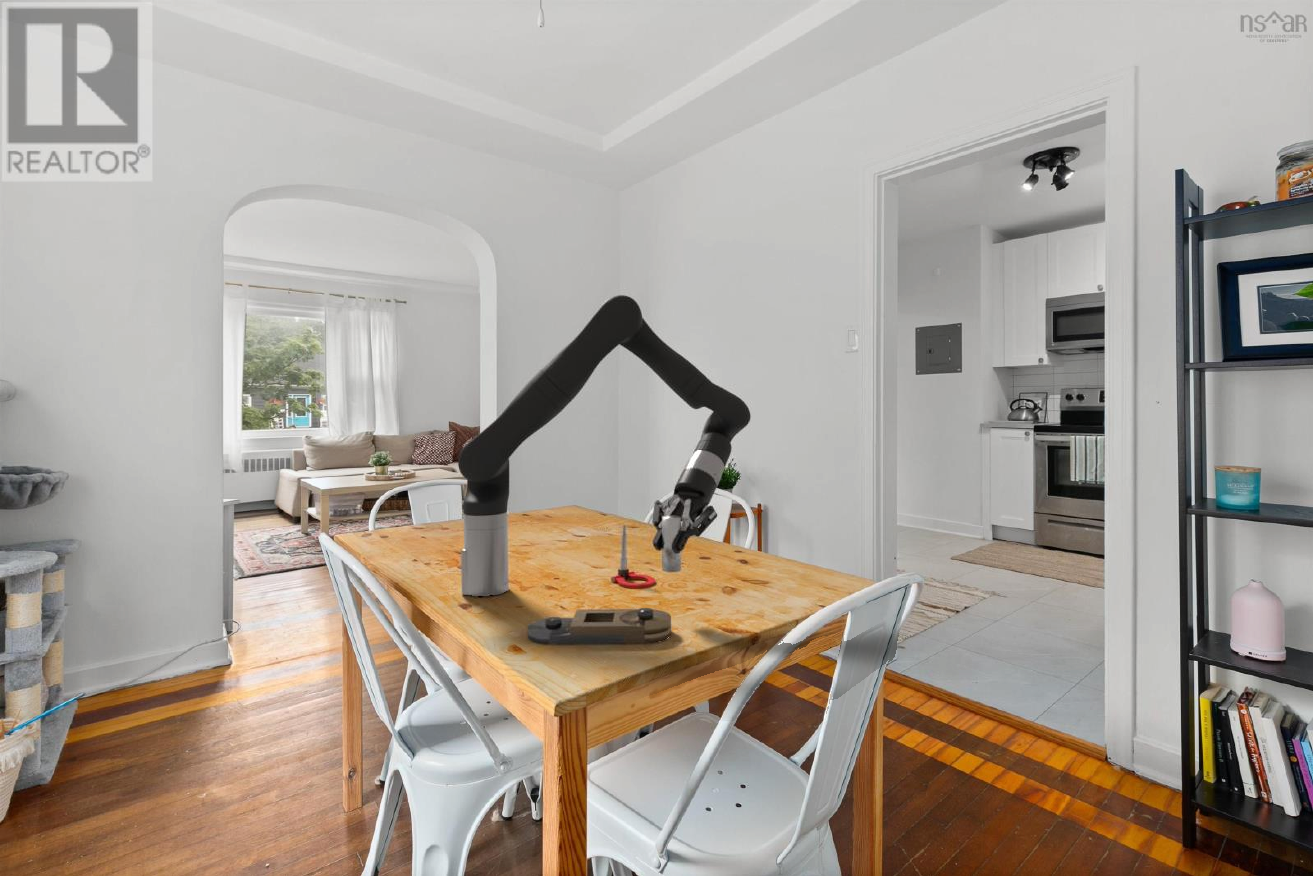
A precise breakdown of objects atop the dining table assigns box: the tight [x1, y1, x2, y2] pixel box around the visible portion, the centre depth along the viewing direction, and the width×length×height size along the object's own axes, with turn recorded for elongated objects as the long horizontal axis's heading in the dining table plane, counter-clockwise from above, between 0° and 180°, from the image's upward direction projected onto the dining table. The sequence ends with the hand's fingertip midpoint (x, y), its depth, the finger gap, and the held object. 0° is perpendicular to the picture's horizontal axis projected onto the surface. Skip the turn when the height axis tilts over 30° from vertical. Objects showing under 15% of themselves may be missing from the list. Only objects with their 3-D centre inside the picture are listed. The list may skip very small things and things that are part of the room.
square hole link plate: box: [526, 607, 672, 645], centre depth 109 cm, size 25×9×4 cm, turn 90°
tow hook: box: [610, 524, 656, 589], centre depth 142 cm, size 8×13×9 cm
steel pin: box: [661, 515, 682, 573], centre depth 118 cm, size 4×4×10 cm
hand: (665, 549), depth 116 cm, fingers closed on steel pin, 3 cm apart
